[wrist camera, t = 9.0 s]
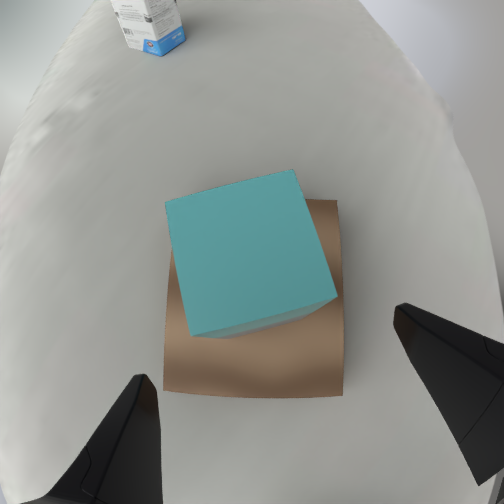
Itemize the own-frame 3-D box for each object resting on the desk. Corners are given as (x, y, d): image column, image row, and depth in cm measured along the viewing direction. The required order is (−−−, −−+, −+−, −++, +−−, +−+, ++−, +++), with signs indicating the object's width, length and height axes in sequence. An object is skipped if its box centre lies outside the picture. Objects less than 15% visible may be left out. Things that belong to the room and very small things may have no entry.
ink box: (187, 40, 33) (168, -46, 19) (161, 58, 32) (133, -32, 18) (152, 31, 34) (129, -42, 20) (127, 47, 33) (98, -27, 19)
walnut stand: (334, 390, 20) (342, 395, 17) (173, 385, 20) (163, 390, 18) (330, 214, 24) (336, 200, 21) (185, 212, 24) (177, 199, 22)
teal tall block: (301, 319, 19) (337, 296, 9) (227, 339, 19) (190, 335, 9) (280, 249, 20) (293, 169, 11) (209, 267, 20) (164, 201, 11)
